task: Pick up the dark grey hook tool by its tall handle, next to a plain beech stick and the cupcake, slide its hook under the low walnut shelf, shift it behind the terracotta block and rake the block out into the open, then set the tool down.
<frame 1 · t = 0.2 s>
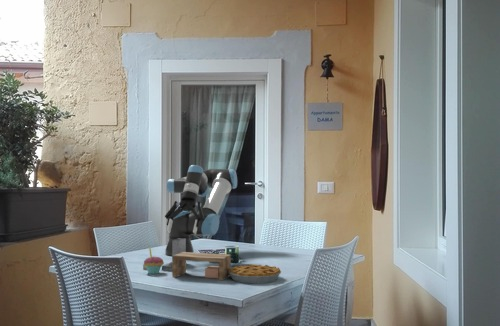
hand: (181, 232, 256), 15 cm above the table, tool tilted 30°, fingers open, 13 cm apart
block: (213, 276, 228), on the table
hook tool: (178, 264, 256), on the table
cupcake: (153, 273, 235), on the table
shelf: (201, 276, 228), on the table
pie: (254, 279, 224), on the table
plain stick: (151, 267, 248), on the table
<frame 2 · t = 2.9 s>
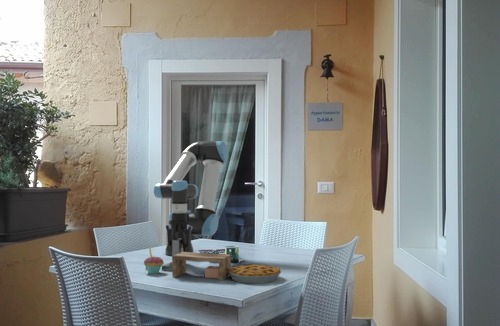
hand: (178, 260, 256), 2 cm above the table, tool pointing down, fingers closed on hook tool, 3 cm apart
hook tool: (178, 264, 256), on the table, touching gripper
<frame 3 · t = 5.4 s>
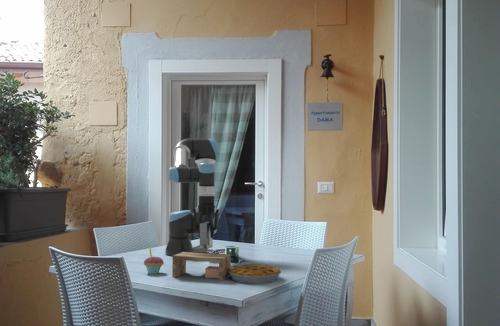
hand: (206, 244, 252), 10 cm above the table, tool pointing down, fingers closed on hook tool, 3 cm apart
hook tool: (206, 247, 252), point 9 cm above the table, touching gripper
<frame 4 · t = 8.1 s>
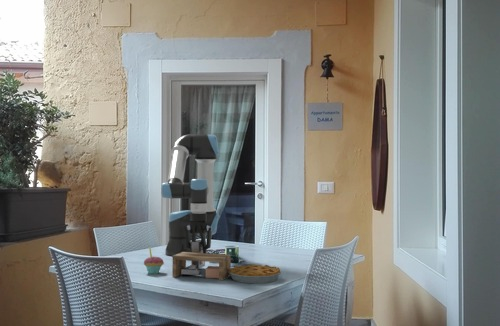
hand: (198, 263, 243), 3 cm above the table, tool pointing down, fingers closed on hook tool, 3 cm apart
hook tool: (198, 267, 242), point 1 cm above the table, touching gripper
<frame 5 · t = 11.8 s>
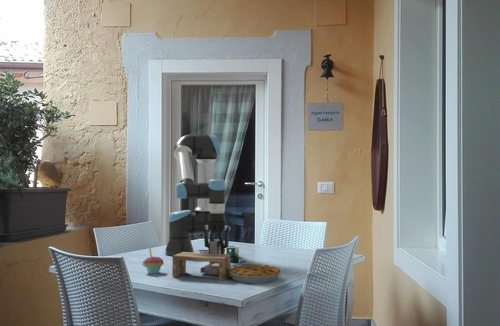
hand: (216, 262, 247), 2 cm above the table, tool pointing down, fingers closed on hook tool, 3 cm apart
block: (219, 273, 233), on the table, touching hook tool
hook tool: (216, 266, 247), point 1 cm above the table, touching block, gripper
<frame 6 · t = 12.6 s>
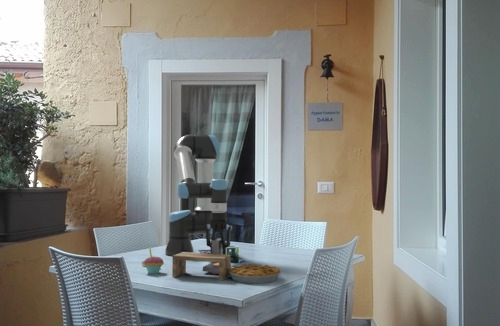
hand: (218, 261, 250), 3 cm above the table, tool pointing down, fingers closed on hook tool, 3 cm apart
block: (221, 273, 236), on the table
hook tool: (218, 265, 249), point 1 cm above the table, touching gripper
when the fingers open (2 cm above the table, at t = 13.5 s): hook tool stays where it is, on the table.
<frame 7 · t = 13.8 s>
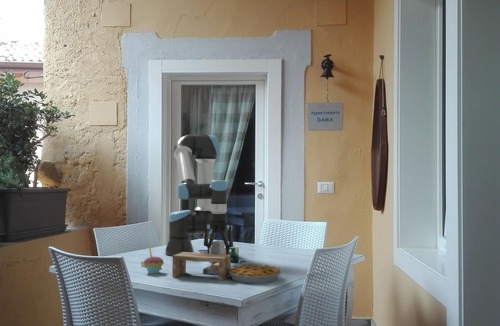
hand: (218, 261, 250), 2 cm above the table, tool pointing down, fingers open, 7 cm apart
hook tool: (218, 266, 249), on the table
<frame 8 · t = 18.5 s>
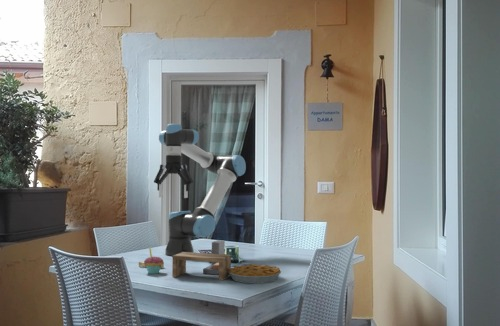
hand: (173, 197, 264), 32 cm above the table, tool pointing down, fingers open, 13 cm apart
at the end: block inside the target area (2.8 cm from its centre), on the table; the gripper is holding nothing; hook tool on the table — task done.
